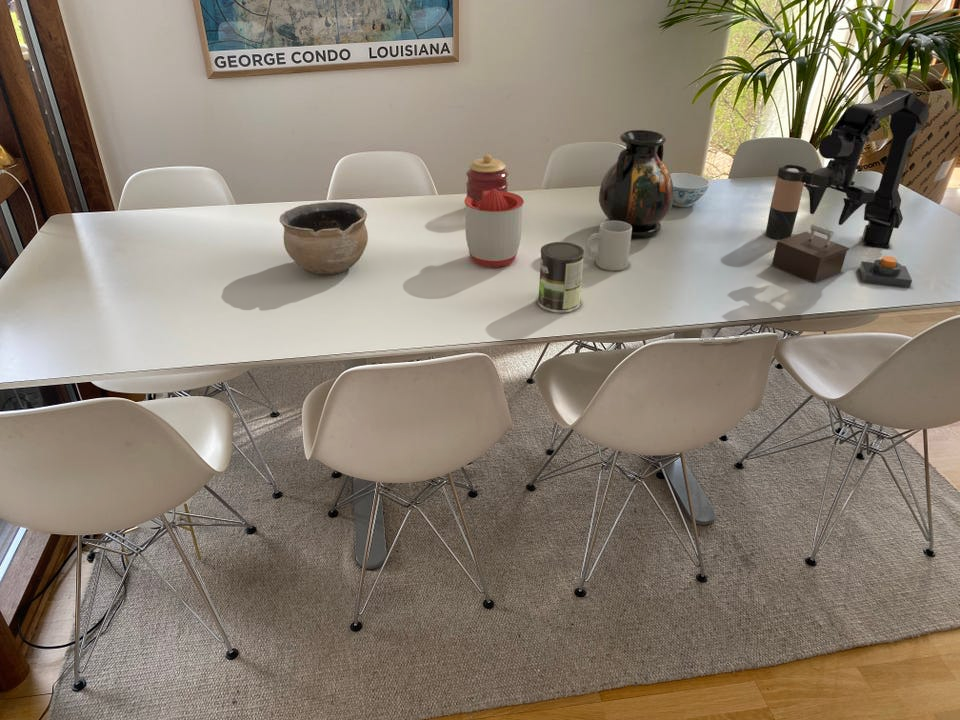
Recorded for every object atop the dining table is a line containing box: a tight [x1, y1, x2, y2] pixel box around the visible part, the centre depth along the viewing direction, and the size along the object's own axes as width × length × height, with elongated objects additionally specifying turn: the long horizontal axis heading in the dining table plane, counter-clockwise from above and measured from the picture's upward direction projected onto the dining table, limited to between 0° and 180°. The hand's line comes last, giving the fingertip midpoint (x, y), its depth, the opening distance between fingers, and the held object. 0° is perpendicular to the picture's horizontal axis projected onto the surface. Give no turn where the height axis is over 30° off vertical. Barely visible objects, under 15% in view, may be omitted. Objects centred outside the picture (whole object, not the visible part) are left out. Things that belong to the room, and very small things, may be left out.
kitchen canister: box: [465, 153, 509, 203], centre depth 239 cm, size 13×13×18 cm
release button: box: [880, 255, 898, 268], centre depth 201 cm, size 4×4×2 cm
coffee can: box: [537, 241, 585, 314], centre depth 185 cm, size 10×10×14 cm
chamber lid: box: [776, 223, 850, 261], centre depth 203 cm, size 12×13×5 cm
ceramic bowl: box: [278, 201, 369, 275], centre depth 202 cm, size 22×22×15 cm
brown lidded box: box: [771, 243, 848, 284], centre depth 206 cm, size 11×13×6 cm
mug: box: [586, 220, 632, 272], centre depth 206 cm, size 12×8×11 cm
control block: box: [859, 258, 913, 289], centre depth 202 cm, size 11×9×4 cm
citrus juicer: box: [463, 189, 525, 269], centre depth 206 cm, size 16×17×20 cm
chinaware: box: [670, 172, 710, 208], centre depth 248 cm, size 15×15×8 cm
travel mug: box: [765, 164, 808, 241], centre depth 223 cm, size 8×8×20 cm
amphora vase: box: [598, 129, 674, 239], centre depth 223 cm, size 22×22×28 cm
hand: (825, 219), depth 199 cm, fingers open, 9 cm apart
